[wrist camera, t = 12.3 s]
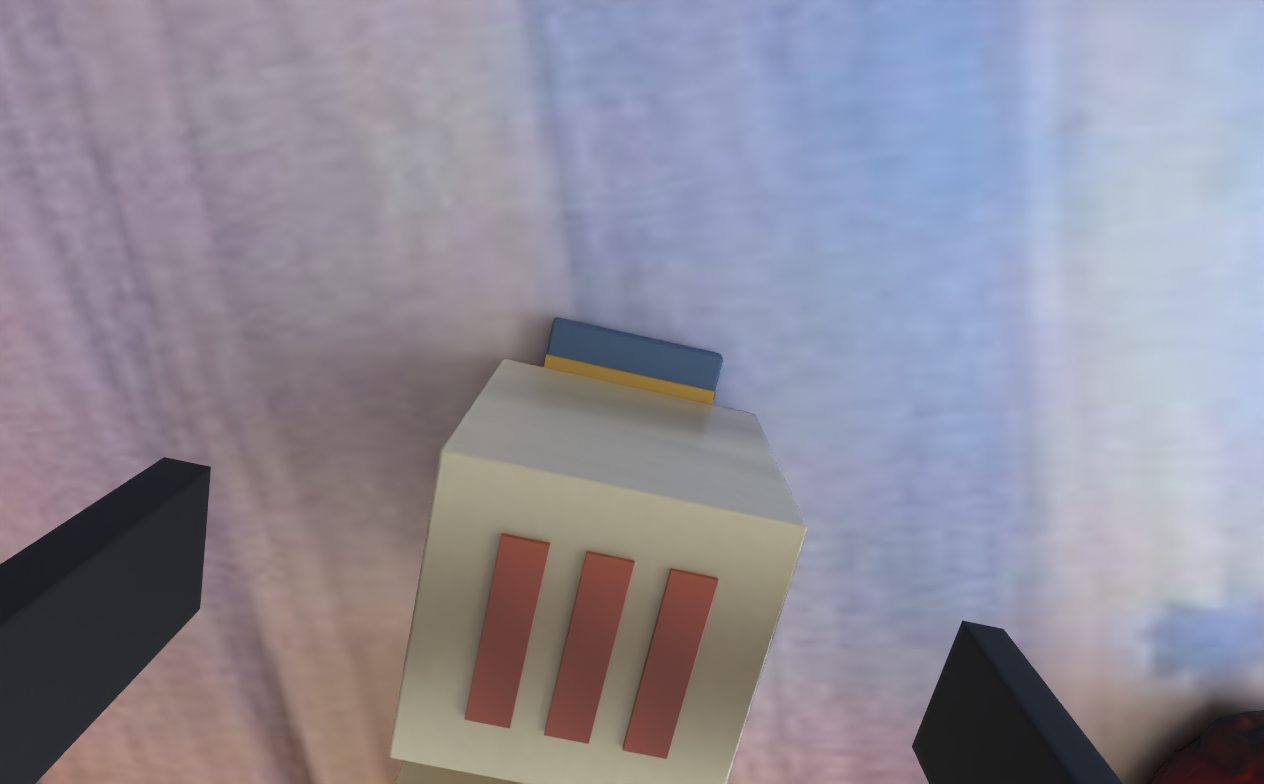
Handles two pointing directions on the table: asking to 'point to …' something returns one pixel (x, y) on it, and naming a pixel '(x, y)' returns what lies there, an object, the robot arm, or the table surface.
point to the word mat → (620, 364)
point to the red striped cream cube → (595, 586)
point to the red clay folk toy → (1220, 754)
